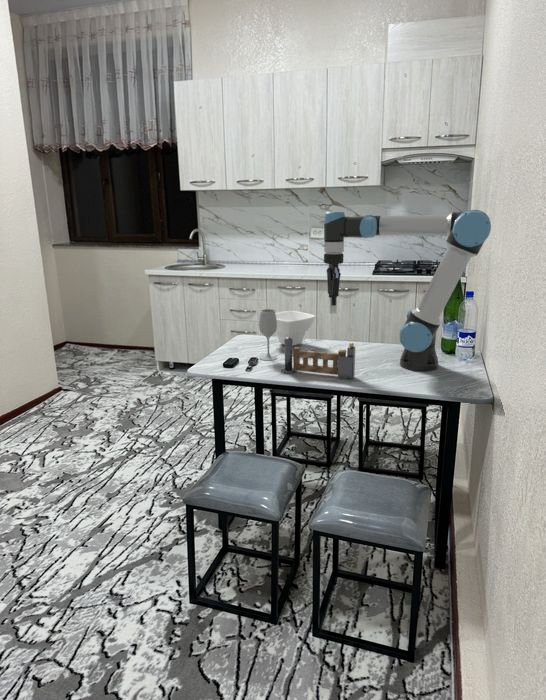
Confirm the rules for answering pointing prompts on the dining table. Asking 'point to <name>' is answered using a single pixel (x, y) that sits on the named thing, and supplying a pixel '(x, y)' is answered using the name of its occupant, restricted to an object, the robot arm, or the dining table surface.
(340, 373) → the stile post
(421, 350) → the robot arm
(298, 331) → the bowl
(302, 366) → the gate
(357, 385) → the dining table surface
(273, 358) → the wineglass
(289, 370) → the hinge post
